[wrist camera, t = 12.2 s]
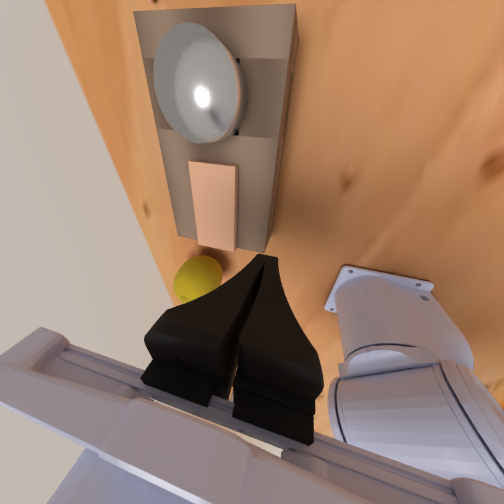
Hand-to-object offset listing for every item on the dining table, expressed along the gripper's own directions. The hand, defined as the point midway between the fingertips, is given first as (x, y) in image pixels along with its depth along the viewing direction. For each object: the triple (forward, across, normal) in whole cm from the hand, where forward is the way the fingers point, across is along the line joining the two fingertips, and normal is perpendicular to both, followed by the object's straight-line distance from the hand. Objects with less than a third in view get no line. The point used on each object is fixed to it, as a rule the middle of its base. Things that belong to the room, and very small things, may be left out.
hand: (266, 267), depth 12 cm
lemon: (+10, +9, +9) cm, 16 cm away
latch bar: (+6, +6, -1) cm, 8 cm away
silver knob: (+9, +6, -9) cm, 14 cm away
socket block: (+10, +6, -5) cm, 13 cm away
